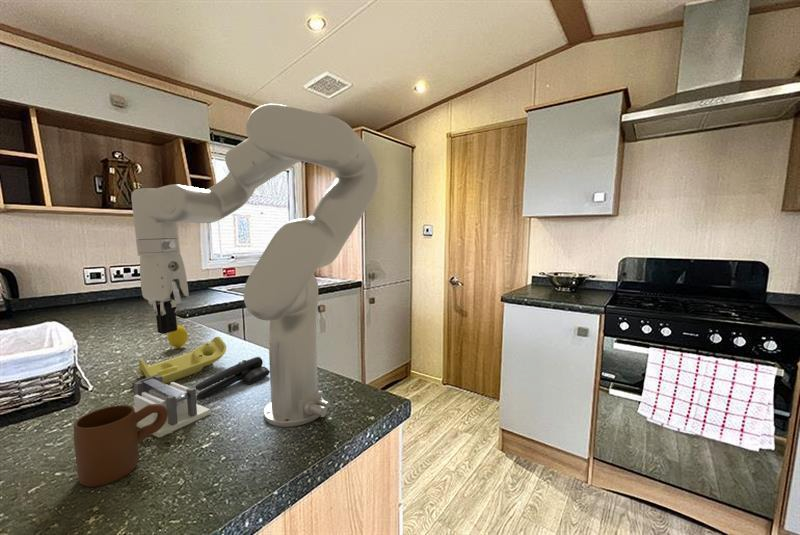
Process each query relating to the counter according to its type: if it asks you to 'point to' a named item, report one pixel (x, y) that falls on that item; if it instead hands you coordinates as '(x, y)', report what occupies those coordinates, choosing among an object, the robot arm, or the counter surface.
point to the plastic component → (185, 362)
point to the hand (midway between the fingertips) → (167, 331)
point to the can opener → (233, 376)
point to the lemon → (178, 337)
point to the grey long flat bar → (166, 389)
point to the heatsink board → (168, 406)
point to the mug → (112, 441)
